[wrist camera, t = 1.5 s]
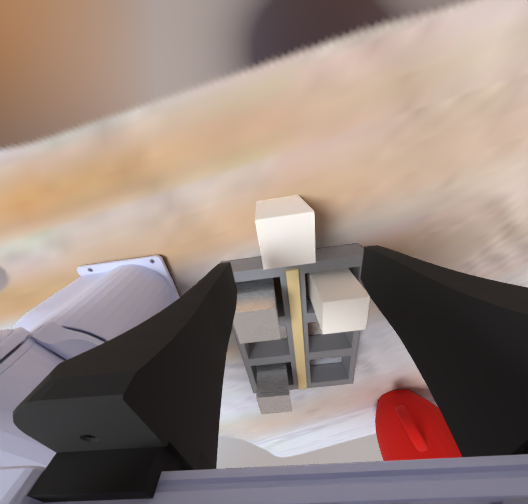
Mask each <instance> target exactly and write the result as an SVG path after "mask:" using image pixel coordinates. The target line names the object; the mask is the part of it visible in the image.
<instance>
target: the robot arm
mask: <svg viewBox="0 0 528 504" xmlns="http://www.w3.org/2000/svg"><path fill="white" fill-rule="evenodd" d="M152 259H153V260H154V261H155V262H154V261H152ZM77 271H78V273H79V274H80V276H81V277H79V278H78V279H76V280H75V281H73V282H72V283H70V284H69V285H67V286H66V287H64V288H63V289H61V290H60V291H58V292H57V293H55V294H54V295H52V296H51V297H49V298H48V299H46V300H45V301H43V302H42V303H40V304H39V305H37V306H36V307H34V308H33V309H31V310H30V311H28V312H27V313H26V314H25V315H23V316H22V317H21V318H20V319H19V320H18V322H17V323H16V324H15V326H14V327H13V329H8V330H0V504H528V288H527V287H522V286H517V285H512V284H507V283H502V282H498V281H493V280H489V279H484V278H480V277H477V276H473V275H469V274H465V273H461V272H457V271H454V270H450V269H447V268H444V267H441V266H437V265H434V264H431V263H428V262H425V261H422V260H419V259H416V258H413V257H410V256H408V255H405V254H402V253H399V252H396V251H393V250H390V249H387V248H384V247H381V246H367V247H364V253H363V261H362V268H361V276H360V279H361V281H362V283H363V285H364V287H365V289H366V291H367V293H368V294H369V296H370V297H371V299H372V300H373V301H374V303H375V304H376V306H377V307H378V308H379V310H380V311H381V312H382V314H383V315H384V316H385V318H386V319H387V320H388V322H389V323H390V325H391V326H392V327H393V329H394V330H395V331H396V333H397V334H398V336H399V337H400V339H401V340H402V342H403V344H404V345H405V347H406V349H407V350H408V352H409V354H410V356H411V357H412V359H413V361H414V362H415V364H416V366H417V368H418V370H419V371H420V373H421V375H422V377H423V379H424V380H425V382H426V384H427V386H428V388H429V390H430V392H431V394H432V396H433V398H434V400H435V402H436V403H437V405H438V407H439V409H440V411H441V413H442V415H443V417H444V419H445V422H446V424H447V426H448V428H449V430H450V432H451V434H452V436H453V438H454V440H455V442H456V444H457V447H458V449H459V451H460V453H461V455H462V457H458V458H437V459H416V460H395V461H375V462H353V463H333V464H311V465H291V466H269V467H248V468H227V469H216V461H217V447H218V432H219V419H220V407H221V396H222V386H223V377H224V368H225V360H226V352H227V347H228V342H229V338H230V333H231V329H232V324H233V320H234V315H235V311H236V304H237V292H238V291H237V287H236V283H235V279H234V275H233V271H232V267H231V263H230V262H226V263H219V264H218V265H217V266H215V267H214V268H213V269H212V270H211V271H210V272H209V273H208V274H207V275H206V276H205V277H204V278H202V279H201V280H200V281H199V282H198V283H197V284H196V285H195V286H193V287H192V288H191V289H190V290H189V291H187V292H186V293H185V294H184V295H183V296H181V297H180V296H179V294H178V291H177V289H176V287H175V285H174V282H173V280H172V278H171V276H170V274H169V271H168V269H167V267H166V265H165V262H164V260H163V258H162V257H161V256H159V255H154V256H147V257H140V258H133V259H126V260H119V261H111V262H104V263H97V264H90V265H83V266H80V267H78V268H77Z"/></svg>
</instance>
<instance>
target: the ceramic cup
mask: <svg viewBox="0 0 528 504" xmlns="http://www.w3.org/2000/svg"><path fill="white" fill-rule="evenodd" d="M375 423H376V434H377V439H378V443H379V447H380V451H381V454H382V457H383V460H384V461H395V460H416V459H437V458H458V457H462V455H461V453H460V451H459V449H458V447H457V444H456V442H455V440H454V438H453V436H452V434H451V432H450V430H449V428H448V426H447V424H446V422H445V419H444V417H443V415H442V413H441V411H440V409H439V408H438V407H437V406H435V405H434V404H432V403H431V402H429V401H428V400H426V399H424V398H423V397H421V396H419V395H417V394H415V393H413V392H412V391H410V390H395V391H391V392H388V393H386V394H384V395H383V396H381V397H380V399H379V400H378V406H377V410H376V418H375Z"/></svg>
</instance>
